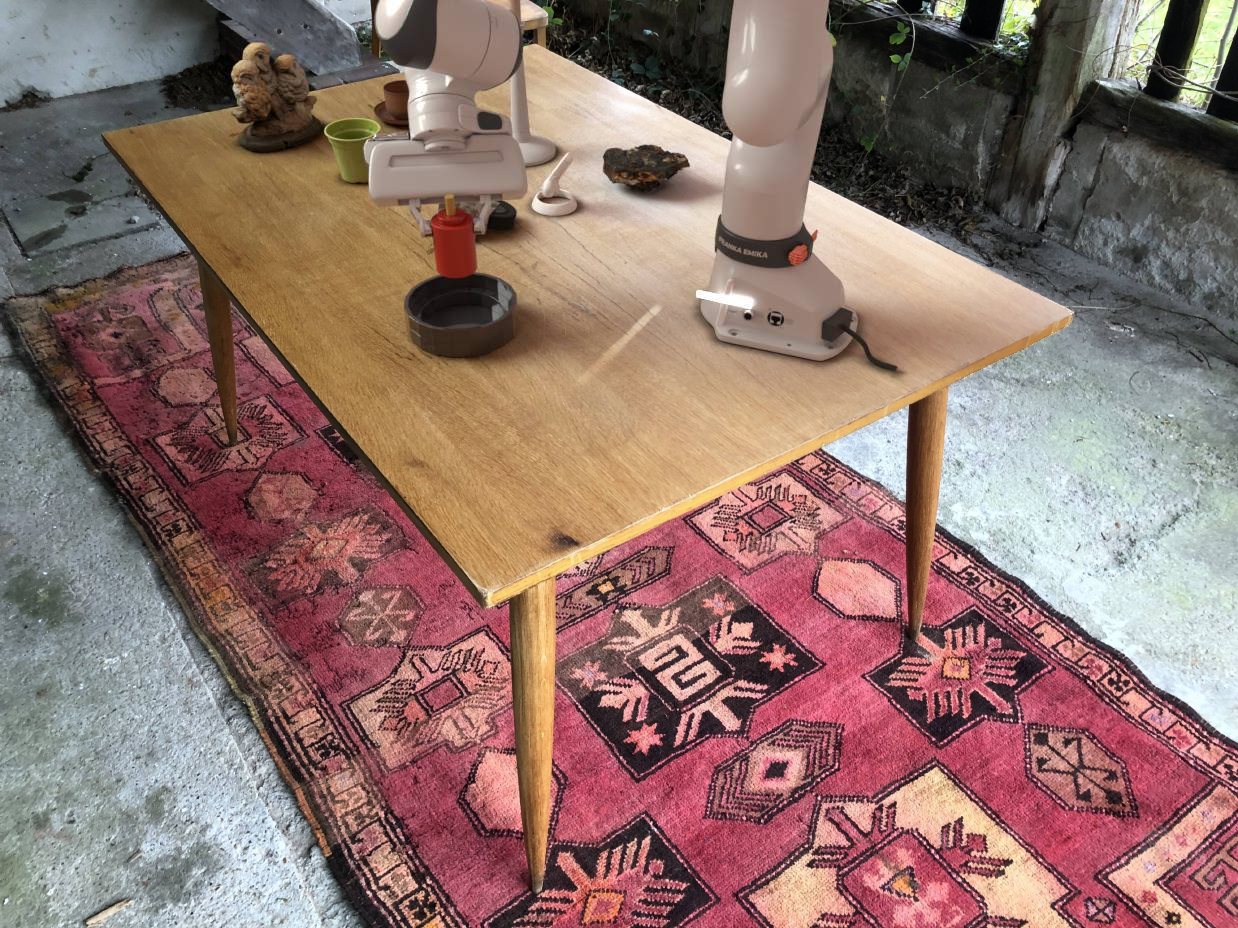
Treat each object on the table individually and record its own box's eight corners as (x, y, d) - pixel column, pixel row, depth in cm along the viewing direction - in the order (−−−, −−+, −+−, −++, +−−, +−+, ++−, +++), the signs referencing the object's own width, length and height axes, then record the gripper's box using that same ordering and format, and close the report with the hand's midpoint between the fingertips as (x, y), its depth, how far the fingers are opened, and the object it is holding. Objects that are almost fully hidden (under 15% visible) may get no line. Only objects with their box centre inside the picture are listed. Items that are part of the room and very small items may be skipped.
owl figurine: (264, 161, 176) (243, 64, 165) (220, 145, 181) (196, 50, 170) (337, 129, 188) (321, 36, 177) (293, 115, 193) (275, 24, 181)
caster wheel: (517, 232, 164) (500, 252, 155) (453, 211, 164) (433, 230, 155) (525, 194, 160) (509, 213, 152) (459, 173, 160) (440, 190, 152)
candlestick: (553, 168, 177) (548, -10, 157) (482, 165, 177) (469, -12, 157) (557, 139, 187) (554, -31, 167) (491, 137, 187) (479, -34, 167)
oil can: (485, 264, 131) (479, 193, 124) (461, 282, 127) (453, 210, 120) (453, 254, 133) (445, 183, 126) (428, 271, 129) (418, 199, 122)
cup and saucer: (446, 110, 196) (443, 79, 192) (423, 133, 187) (419, 101, 183) (390, 104, 198) (386, 73, 194) (364, 126, 189) (360, 94, 185)
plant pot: (398, 174, 174) (391, 126, 168) (360, 193, 168) (352, 144, 162) (359, 161, 177) (352, 113, 172) (321, 179, 171) (312, 131, 166)
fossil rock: (625, 208, 165) (626, 175, 162) (592, 176, 175) (592, 144, 171) (696, 195, 170) (699, 163, 166) (661, 164, 179) (662, 133, 176)
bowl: (539, 321, 139) (538, 290, 135) (475, 374, 129) (472, 343, 125) (453, 291, 144) (450, 261, 141) (385, 340, 134) (380, 309, 131)
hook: (592, 196, 157) (556, 170, 155) (556, 237, 166) (522, 214, 164) (604, 168, 162) (570, 142, 159) (569, 210, 171) (536, 186, 168)
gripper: (358, 124, 122) (368, 232, 121) (522, 116, 125) (532, 222, 124) (365, 144, 129) (374, 247, 128) (521, 136, 131) (530, 237, 130)
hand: (453, 234), depth 126 cm, fingers closed on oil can, 5 cm apart
